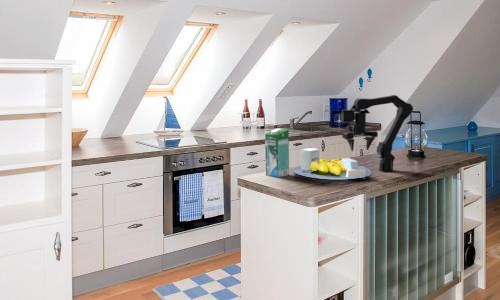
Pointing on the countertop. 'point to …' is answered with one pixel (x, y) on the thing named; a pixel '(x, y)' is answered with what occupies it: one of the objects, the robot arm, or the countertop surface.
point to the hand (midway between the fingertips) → (359, 150)
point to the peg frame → (355, 173)
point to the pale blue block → (349, 163)
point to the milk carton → (277, 152)
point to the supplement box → (309, 157)
